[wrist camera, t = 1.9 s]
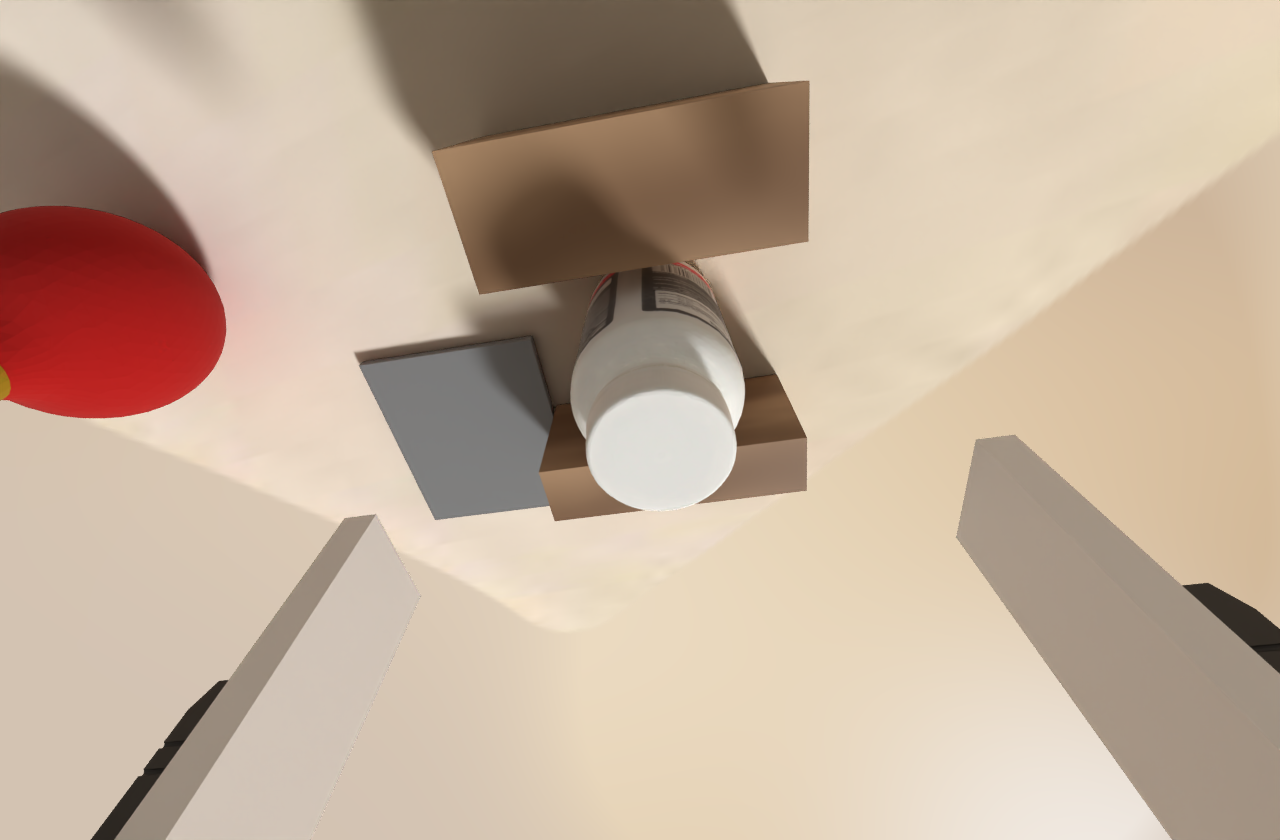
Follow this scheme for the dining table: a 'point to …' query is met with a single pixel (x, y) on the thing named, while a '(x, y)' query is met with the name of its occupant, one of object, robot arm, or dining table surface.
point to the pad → (469, 423)
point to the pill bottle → (657, 388)
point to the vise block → (643, 237)
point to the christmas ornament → (101, 314)
